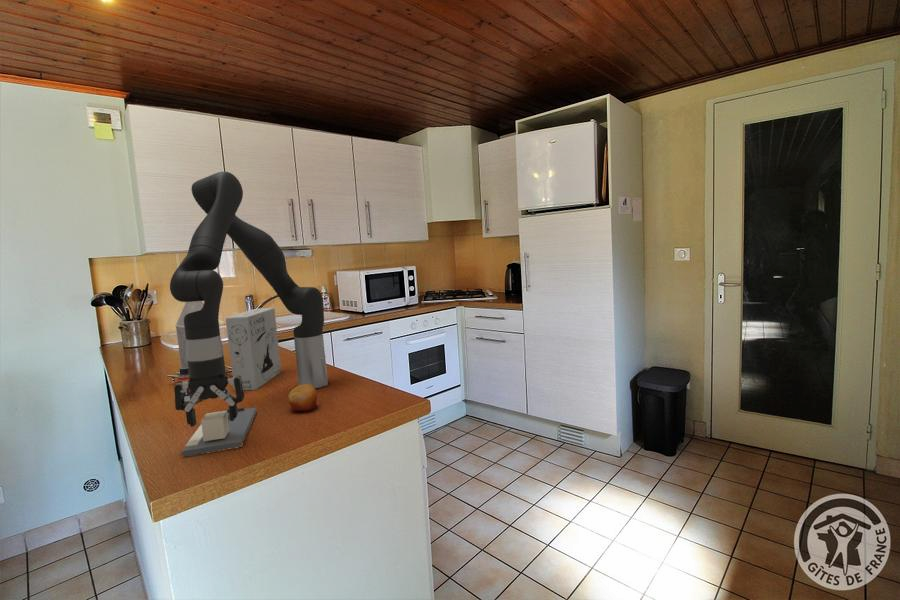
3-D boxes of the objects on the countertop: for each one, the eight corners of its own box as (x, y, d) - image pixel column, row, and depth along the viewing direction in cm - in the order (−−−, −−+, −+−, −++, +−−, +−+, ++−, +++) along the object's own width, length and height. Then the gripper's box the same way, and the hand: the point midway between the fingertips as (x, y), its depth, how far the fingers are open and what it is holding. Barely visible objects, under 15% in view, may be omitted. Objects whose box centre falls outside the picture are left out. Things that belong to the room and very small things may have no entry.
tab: (229, 430, 108) (226, 410, 108) (224, 438, 104) (222, 417, 103) (209, 433, 107) (206, 413, 107) (203, 441, 102) (200, 420, 102)
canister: (214, 374, 171) (201, 272, 166) (230, 382, 159) (217, 272, 154) (176, 383, 162) (162, 275, 157) (191, 391, 150) (175, 275, 145)
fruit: (327, 398, 130) (317, 379, 125) (315, 420, 124) (303, 401, 119) (304, 396, 133) (293, 378, 128) (291, 418, 127) (278, 400, 122)
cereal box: (256, 390, 147) (247, 316, 144) (233, 391, 147) (224, 317, 144) (281, 372, 168) (274, 307, 166) (262, 373, 169) (254, 308, 166)
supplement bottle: (191, 405, 135) (187, 369, 134) (175, 405, 136) (170, 369, 135) (206, 398, 141) (201, 364, 140) (190, 398, 142) (185, 364, 141)
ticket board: (256, 412, 125) (255, 404, 125) (241, 447, 102) (240, 438, 102) (210, 419, 122) (209, 411, 122) (183, 457, 99) (182, 447, 99)
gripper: (241, 349, 108) (248, 413, 110) (176, 356, 105) (184, 421, 107) (235, 355, 101) (242, 423, 103) (165, 363, 98) (174, 433, 99)
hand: (213, 422), depth 105 cm, fingers open, 8 cm apart
